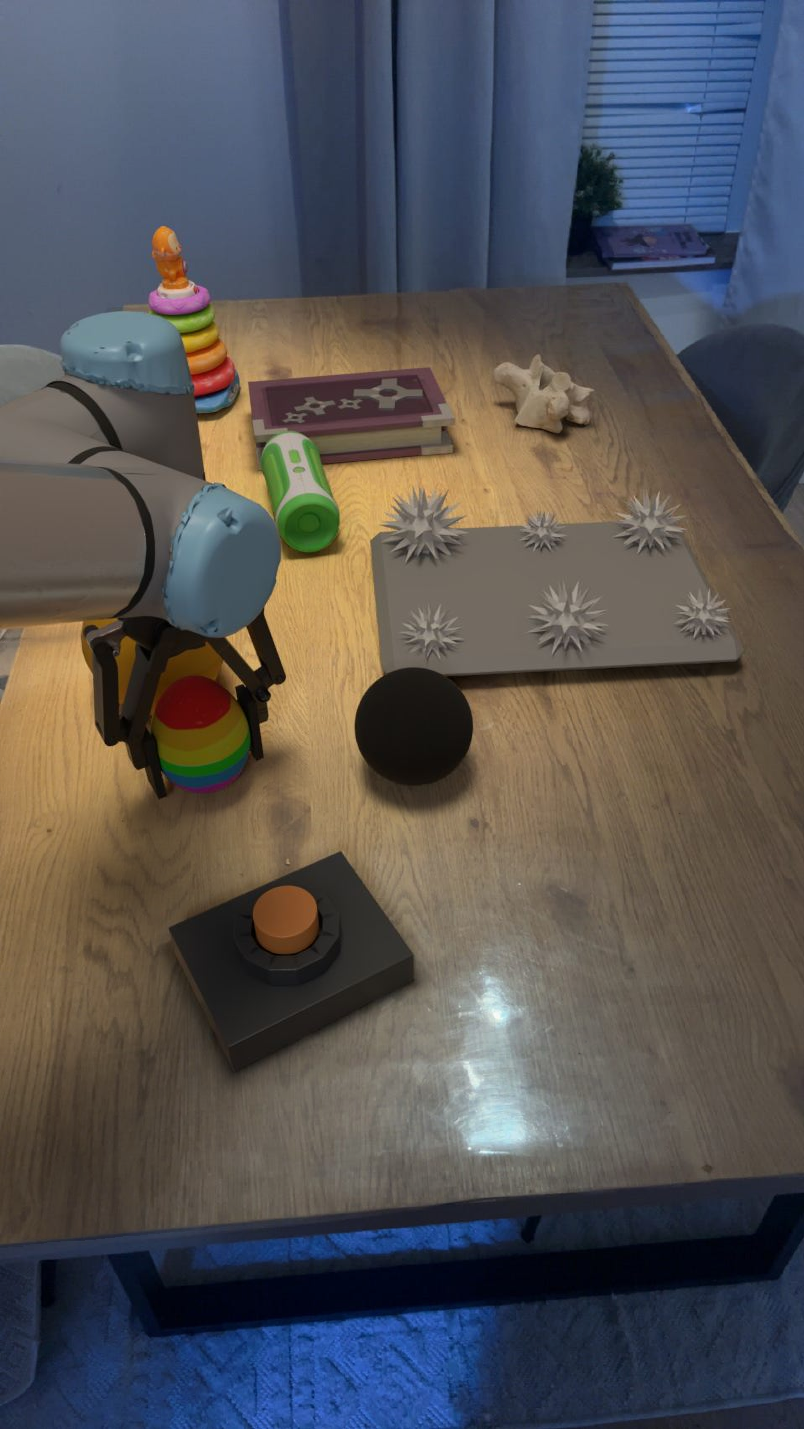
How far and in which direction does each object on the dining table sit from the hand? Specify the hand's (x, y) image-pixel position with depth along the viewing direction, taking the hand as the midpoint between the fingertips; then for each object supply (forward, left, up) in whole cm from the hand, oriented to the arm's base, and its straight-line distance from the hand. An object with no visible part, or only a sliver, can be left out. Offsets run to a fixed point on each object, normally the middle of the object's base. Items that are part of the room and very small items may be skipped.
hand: (206, 768), depth 87 cm
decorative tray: (+40, +6, -2) cm, 40 cm away
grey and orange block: (-2, -21, -1) cm, 21 cm away
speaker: (+26, +35, -2) cm, 44 cm away
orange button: (-2, -21, +3) cm, 21 cm away
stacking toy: (+27, +72, -2) cm, 77 cm away
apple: (+1, +13, -2) cm, 13 cm away
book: (+41, +51, -2) cm, 65 cm away
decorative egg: (0, 0, 0) cm, 0 cm away
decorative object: (+65, +40, -2) cm, 76 cm away
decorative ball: (+16, -8, -2) cm, 18 cm away
